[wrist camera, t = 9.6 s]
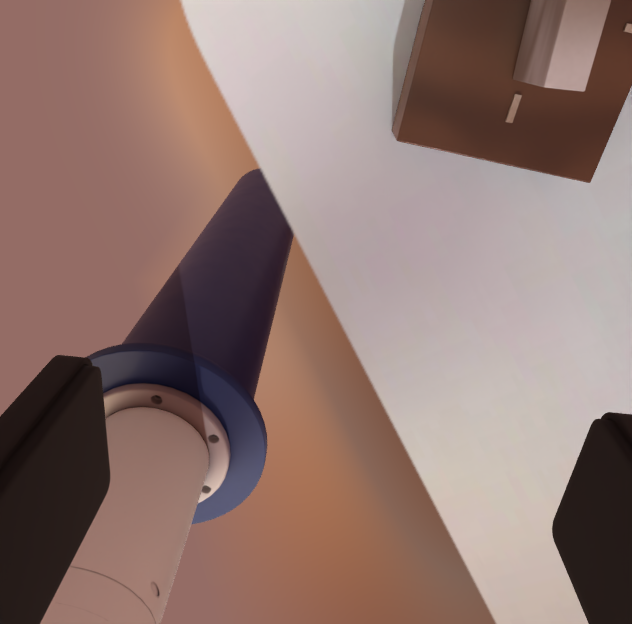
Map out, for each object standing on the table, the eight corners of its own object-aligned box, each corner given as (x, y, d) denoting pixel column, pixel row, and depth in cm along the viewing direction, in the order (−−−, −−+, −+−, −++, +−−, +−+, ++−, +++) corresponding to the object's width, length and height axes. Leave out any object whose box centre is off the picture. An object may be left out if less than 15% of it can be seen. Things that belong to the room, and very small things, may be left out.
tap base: (567, 169, 34) (591, 183, 30) (391, 131, 33) (396, 141, 30) (690, -134, 27) (738, -158, 24) (472, -189, 27) (490, -221, 23)
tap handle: (546, 83, 28) (587, 92, 24) (511, 79, 28) (545, 87, 24) (586, -70, 26) (641, -93, 21) (547, -74, 26) (593, -98, 21)
